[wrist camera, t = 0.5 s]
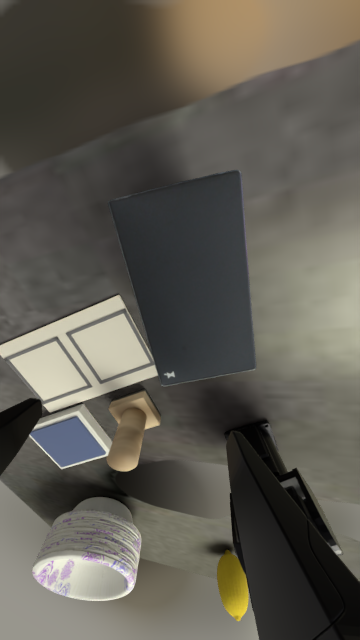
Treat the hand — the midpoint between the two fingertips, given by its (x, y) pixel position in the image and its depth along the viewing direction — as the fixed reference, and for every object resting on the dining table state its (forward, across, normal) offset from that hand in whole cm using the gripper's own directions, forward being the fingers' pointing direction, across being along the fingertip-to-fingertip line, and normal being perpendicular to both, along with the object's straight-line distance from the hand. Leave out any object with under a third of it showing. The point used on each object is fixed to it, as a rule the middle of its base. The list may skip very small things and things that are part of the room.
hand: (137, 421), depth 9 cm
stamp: (+14, +2, +13) cm, 19 cm away
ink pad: (+13, +10, +20) cm, 26 cm away
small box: (+13, -1, -6) cm, 15 cm away
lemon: (+14, -22, +48) cm, 55 cm away
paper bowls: (+14, +5, +39) cm, 42 cm away
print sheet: (+13, +9, +7) cm, 18 cm away
